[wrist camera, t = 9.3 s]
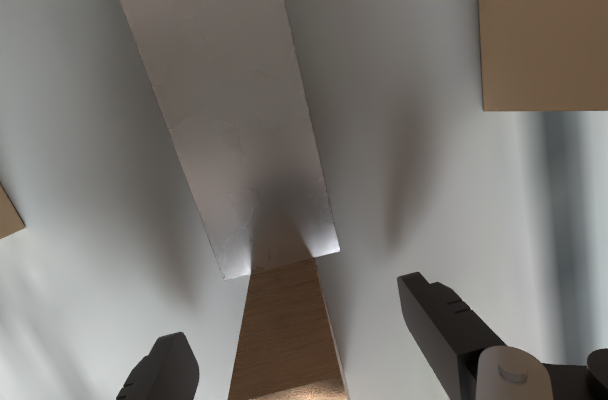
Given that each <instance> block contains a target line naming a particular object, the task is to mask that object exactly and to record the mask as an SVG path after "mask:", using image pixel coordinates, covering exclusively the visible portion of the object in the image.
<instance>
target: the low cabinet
mask: <svg viewBox="0 0 608 400" xmlns="http://www.w3.org/2000/svg"><path fill="white" fill-rule="evenodd" d="M479 19H480V40H481V62H482V83H483V105H484V111H608V0H479ZM24 228H25V226H24V224H23V223H22V221H21V219H20V217H19V216H18V214H17V212H16V211H15V209H14V207H13V205H12V204H11V202H10V200H9V199H8V197H7V195H6V193H5V192H4V190H3V188H2V187H1V185H0V239H2V238H4V237H6V236H8V235H10V234H13V233H15V232H17V231H19V230H21V229H24Z"/></svg>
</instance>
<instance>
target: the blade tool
mask: <svg viewBox="0 0 608 400" xmlns="http://www.w3.org/2000/svg"><path fill="white" fill-rule="evenodd" d="M119 1H120V3H121V6H122V9H123V11H124V14H125V17H126V19H127V22H128V25H129V27H130V30H131V33H132V35H133V38H134V41H135V43H136V46H137V49H138V51H139V54H140V57H141V59H142V62H143V65H144V67H145V70H146V73H147V75H148V78H149V81H150V83H151V86H152V89H153V91H154V94H155V97H156V99H157V102H158V105H159V107H160V110H161V113H162V115H163V118H164V121H165V123H166V126H167V129H168V131H169V134H170V137H171V139H172V142H173V145H174V147H175V150H176V153H177V155H178V158H179V161H180V163H181V166H182V169H183V171H184V174H185V177H186V179H187V182H188V185H189V187H190V190H191V193H192V195H193V198H194V201H195V203H196V206H197V209H198V211H199V214H200V217H201V219H202V222H203V225H204V227H205V230H206V233H207V235H208V238H209V241H210V243H211V246H212V249H213V251H214V254H215V257H216V259H217V262H218V265H219V267H220V270H221V273H222V275H223V278H224V281H225V280H229V279H233V278H237V277H240V276H244V275H248V274H251V276H250V281H249V287H248V292H247V297H246V303H245V308H244V314H243V319H242V325H241V330H240V335H239V341H238V346H237V352H236V357H235V363H234V368H233V373H232V379H231V384H230V390H229V395H228V400H350V396H349V392H348V388H347V383H346V379H345V375H344V371H343V368H342V364H341V360H340V356H339V352H338V348H337V344H336V340H335V336H334V333H333V329H332V325H331V321H330V317H329V313H328V309H327V305H326V301H325V298H324V294H323V290H322V286H321V282H320V278H319V274H318V270H317V267H316V263H315V259H314V258H315V257H319V256H323V255H327V254H331V253H335V252H339V251H340V248H339V243H338V239H337V235H336V230H335V226H334V221H333V217H332V212H331V208H330V203H329V199H328V194H327V190H326V186H325V181H324V177H323V172H322V168H321V163H320V159H319V154H318V150H317V145H316V141H315V137H314V132H313V128H312V123H311V119H310V114H309V110H308V105H307V101H306V96H305V92H304V88H303V83H302V79H301V74H300V70H299V65H298V61H297V56H296V52H295V47H294V43H293V39H292V34H291V30H290V25H289V21H288V16H287V12H286V7H285V3H284V0H119Z"/></svg>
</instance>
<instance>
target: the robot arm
mask: <svg viewBox="0 0 608 400" xmlns="http://www.w3.org/2000/svg"><path fill="white" fill-rule="evenodd" d="M397 282H398V289H399V295H400V301H401V307H402V313H403V316H404V319H405V322H406V325H407V327H408V329H409V331H410V332H411V334H412V336H413V337H414V339H415V341H416V342H417V344H418V346H419V347H420V349H421V351H422V353H423V354H424V356H425V358H426V359H427V361H428V363H429V364H430V366H431V368H432V369H433V371H434V373H435V374H436V376H437V378H438V380H439V381H440V383H441V385H442V386H443V388H444V390H445V391H446V393H447V395H448V396H449V398H450V400H608V349H599V350H595V351H593V352H592V353H591V354H590V355H589V356H588V358H587V366H576V365H553V364H545V363H541V362H540V361H539V360H537V359H536V358H535V357H534V356H532V355H530V354H529V353H527V352H525V351H523V350H520V349H518V348H514V347H509V346H507V345H506V344H505V343H504V342H503V341H502V340H501V339H500V338H499V337H498V336H497V335H496V334H495V333H494V332H493V331H492V330H491V329H490V328H489V327H488V326H487V325H486V324H485V323H484V322H483V321H482V320H481V318H480V317H479V316H478V315H477V314H476V313H475V312H474V311H473V310H471V309H470V307H469V306H468V305H467V304H466V303H465V302H464V301H462V299H461V298H460V297H459V296H458V295H457V294H456V293H455V292H454V291H453V290H452V289H451V288H449V287H447V286H445V285H443V284H441V283H439V282H435V283H432V284H429V283H428V282H427V281H426V279H425V278H424V277H423V276H422V275H421V274H420V273H419V272H415V273H411V274H407V275H403V276H399V277H398V278H397ZM198 382H199V366H198V363H197V360H196V358H195V356H194V354H193V352H192V349H191V347H190V345H189V343H188V341H187V339H186V336H185V335H184V333H182V332H178V333H174V334H170V335H166V336H162V337H159V338H158V339H157V340H156V342H155V344H154V346H153V348H152V350H151V351H150V353H149V355H148V356H145V357H144V358H143V359H142V360H141V361H140V362H139V363H138V364H137V365H136V367H135V368H134V369H133V370H132V371H131V373H130V375H129V376H128V378H127V380H126V382H125V383H124V388H122V389H121V390H120V392H119V394H118V396H117V397H116V400H193V399H194V396H195V393H196V389H197V386H198Z"/></svg>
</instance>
